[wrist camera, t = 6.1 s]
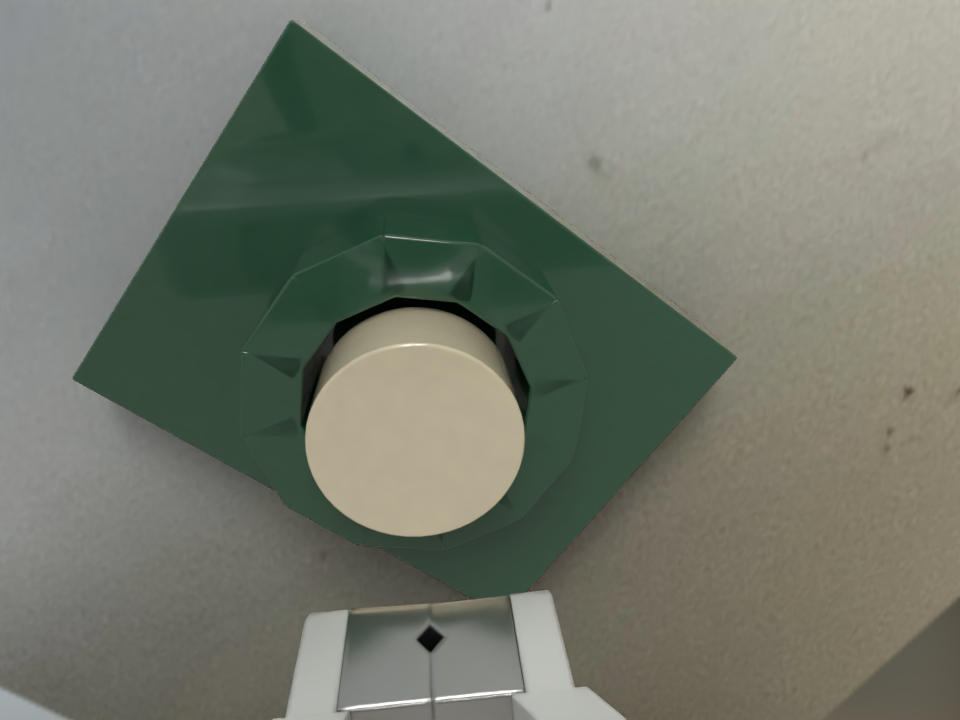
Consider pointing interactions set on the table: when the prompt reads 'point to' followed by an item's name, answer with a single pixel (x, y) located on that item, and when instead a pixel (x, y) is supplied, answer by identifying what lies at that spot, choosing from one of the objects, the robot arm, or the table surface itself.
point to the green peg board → (386, 286)
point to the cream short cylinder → (414, 423)
